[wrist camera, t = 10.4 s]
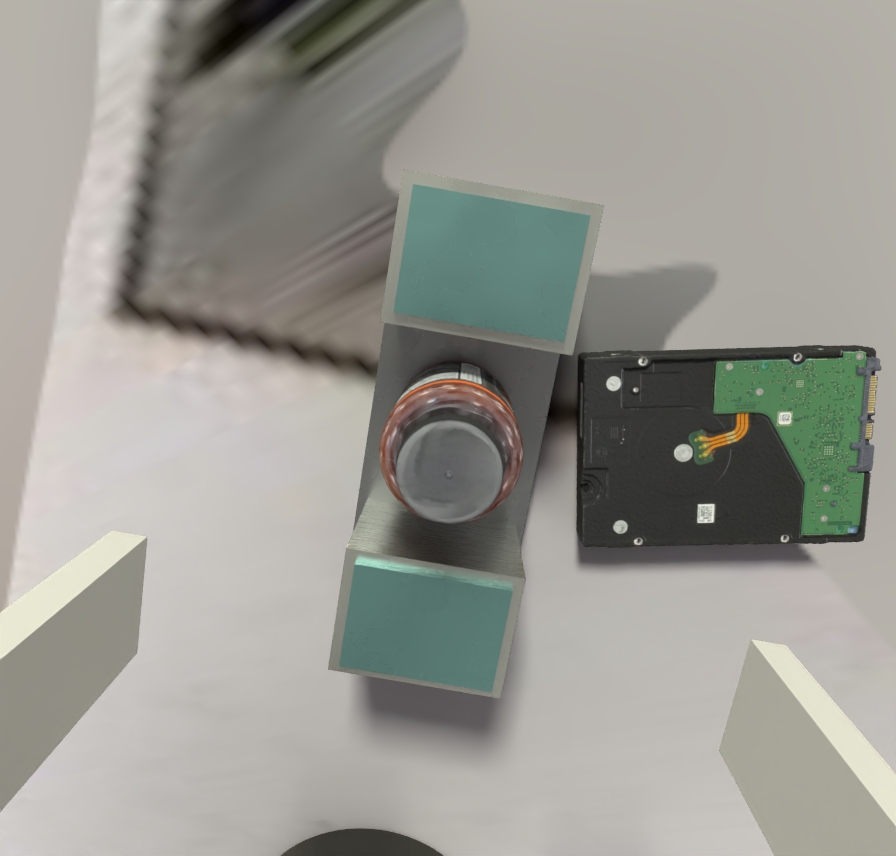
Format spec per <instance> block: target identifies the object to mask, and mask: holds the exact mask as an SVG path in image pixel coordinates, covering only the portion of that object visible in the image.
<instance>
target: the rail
mask: <svg viewBox="0 0 896 856" xmlns="http://www.w3.org/2000/svg"><path fill="white" fill-rule="evenodd" d="M603 208H604V205H600V204H594V203H588V202H583V201H577V200H571V199H566V198H560V197H554V196H549V195H543V194H538V193H532V192H526V191H521V190H515V189H509V188H504V187H498V186H493V185H487V184H481V183H476V182H470V181H464V180H458V179H453V178H448V177H442V176H436V175H430V174H425V173H420V172H414V171H408V170H403V175H402V181H401V188H400V194H399V201H398V208H397V214H396V221H395V228H394V234H393V241H392V248H391V254H390V261H389V268H388V274H387V281H386V288H385V294H384V301H383V308H382V314H381V321H380V322H384V323H385V325H384V332H383V339H382V345H381V352H380V358H379V365H378V371H377V378H376V385H375V391H374V398H373V404H372V411H371V418H370V424H369V431H368V437H367V444H366V450H365V457H364V464H363V470H362V477H361V483H360V490H359V497H358V503H357V510H356V516H355V523H354V530H353V534H352V536H351V538H350V541H349V543H348V545H347V548H346V554H345V560H344V567H343V573H342V580H341V587H340V593H339V600H338V607H337V613H336V620H335V627H334V633H333V640H332V647H331V653H330V660H329V667H328V670H334V671H340V672H346V673H352V674H358V675H364V676H370V677H375V678H381V679H387V680H393V681H399V682H405V683H411V684H417V685H423V686H429V687H434V688H440V689H446V690H452V691H458V692H464V693H470V694H476V695H482V696H487V697H493V698H499V699H500V698H501V693H502V688H503V684H504V679H505V674H506V669H507V665H508V660H509V655H510V650H511V646H512V641H513V636H514V631H515V627H516V622H517V617H518V612H519V608H520V603H521V598H522V593H523V589H524V584H525V579H526V578H525V573H524V568H523V562H522V557H521V552H520V545H521V540H522V535H523V531H524V526H525V521H526V516H527V511H528V506H529V502H530V497H531V492H532V487H533V482H534V477H535V472H536V468H537V463H538V458H539V453H540V448H541V443H542V439H543V434H544V429H545V424H546V419H547V414H548V410H549V405H550V400H551V395H552V390H553V385H554V380H555V376H556V371H557V366H558V361H559V356H560V353H561V354H567V355H572V356H573V351H574V346H575V341H576V337H577V332H578V327H579V322H580V318H581V313H582V308H583V303H584V299H585V294H586V289H587V284H588V280H589V275H590V270H591V265H592V260H593V256H594V251H595V246H596V242H597V237H598V232H599V227H600V223H601V218H602V213H603ZM445 361H462V362H468V363H471V364H474V365H476V366H479V367H481V368H483V369H485V370H486V371H488V372H489V373H490V374H492V375H493V376H494V377H495V378H496V379H497V380H498V381H499V383H500V384H501V385H502V387H503V388H504V390H505V392H506V393H507V395H508V397H509V399H510V402H511V405H512V408H513V412H514V414H515V417H516V420H517V423H518V426H519V429H520V432H521V436H522V440H523V450H524V456H523V464H522V468H521V473H520V476H519V479H518V481H517V483H516V485H515V487H514V488H513V490H512V491H511V493H510V495H509V496H508V497H507V499H506V500H505V501H504V502H503V503H502V504H501V505H500V506H498V507H497V508H496V509H495V510H493V511H492V512H490V513H488V514H487V515H485V516H483V517H480V518H478V519H475V520H473V521H469V522H463V523H454V524H446V523H438V522H434V521H431V520H427V519H425V518H423V517H420V516H418V515H416V514H414V513H412V512H411V511H410V510H408V509H407V508H406V507H404V506H403V505H402V504H401V503H400V502H399V501H398V500H397V499H396V497H395V496H394V495H393V494H392V492H391V491H390V489H389V488H388V486H387V484H386V482H385V479H384V477H383V474H382V470H381V466H380V459H379V445H380V438H381V434H382V431H383V428H384V425H385V423H386V421H387V419H388V417H389V414H390V413H391V411H392V409H393V408H394V406H395V404H396V402H397V400H398V399H399V397H400V395H401V393H402V392H403V390H404V388H405V387H406V385H407V384H408V383H409V382H410V380H412V379H413V378H414V377H415V376H416V375H417V374H418V373H420V372H421V371H422V370H424V369H426V368H427V367H429V366H431V365H434V364H437V363H441V362H445Z"/></svg>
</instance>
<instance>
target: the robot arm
mask: <svg viewBox="0 0 896 856" xmlns="http://www.w3.org/2000/svg"><path fill="white" fill-rule="evenodd" d="M146 547H147V537H146V536H140V535H134V534H129V533H123V532H117V531H111V532H109V533H108V534H106V535H105V536H104V537H102V538H101V539H100V540H98V541H97V542H96V543H94V544H93V545H91V546H90V547H89V548H87V549H86V550H85V551H83V552H82V553H81V554H79V555H78V556H77V557H75V558H74V559H72V560H71V561H70V562H68V563H67V564H66V565H64V566H63V567H62V568H60V569H59V570H57V571H56V572H55V573H53V574H52V575H51V576H49V577H48V578H47V579H45V580H44V581H42V582H41V583H40V584H38V585H37V586H36V587H34V588H33V589H32V590H30V591H29V592H28V593H26V594H25V595H23V596H22V597H21V598H19V599H18V600H17V601H15V602H14V603H13V604H11V605H10V606H8V607H7V608H6V609H4V610H3V611H2V612H0V812H1V811H2V809H3V808H4V807H5V806H6V805H7V804H8V802H9V801H10V800H11V799H12V798H13V797H14V795H15V794H16V793H17V792H18V791H19V790H20V789H21V787H22V786H23V785H24V784H25V783H26V782H27V780H28V779H29V778H30V777H31V776H32V775H33V773H34V772H35V771H36V770H37V769H38V768H39V766H40V765H41V764H42V763H43V762H44V761H45V759H46V758H47V757H48V756H49V755H50V754H51V752H52V751H53V750H54V749H55V748H56V747H57V745H58V744H59V743H60V742H61V741H62V740H63V738H64V737H65V736H66V735H67V734H68V733H69V731H70V730H71V729H72V728H73V727H74V726H75V725H76V723H77V722H78V721H79V720H80V719H81V718H82V716H83V715H84V714H85V713H86V712H87V711H88V709H89V708H90V707H91V706H92V705H93V704H94V702H95V701H96V700H97V699H98V698H99V697H100V695H101V694H102V693H103V692H104V691H105V690H106V688H107V687H108V686H109V685H110V684H111V683H112V681H113V680H114V679H115V678H116V677H117V676H118V674H119V673H120V672H121V671H122V670H123V669H124V667H125V666H126V665H127V664H128V663H129V662H130V661H131V659H132V658H133V657H134V656H135V655H136V654H137V649H138V638H139V626H140V615H141V603H142V592H143V581H144V569H145V558H146ZM719 751H720V753H721V755H722V757H723V759H724V761H725V763H726V765H727V767H728V768H729V770H730V772H731V774H732V776H733V778H734V780H735V782H736V784H737V785H738V787H739V789H740V791H741V793H742V795H743V797H744V799H745V801H746V802H747V804H748V806H749V808H750V810H751V812H752V814H753V816H754V818H755V819H756V821H757V823H758V825H759V827H760V829H761V831H762V833H763V835H764V836H765V838H766V840H767V842H768V844H769V846H770V848H771V850H772V852H773V853H774V855H775V856H896V774H895V773H894V771H893V770H892V769H891V768H890V767H889V766H888V764H887V763H886V762H885V761H884V760H883V759H882V757H881V756H880V755H879V754H878V753H877V752H876V750H875V749H874V748H873V747H872V746H871V745H870V743H869V742H868V741H867V740H866V739H865V738H864V736H863V735H862V734H861V733H860V732H859V731H858V729H857V728H856V727H855V726H854V725H853V723H852V722H851V721H850V720H849V719H848V718H847V716H846V715H845V714H844V713H843V712H842V711H841V709H840V708H839V707H838V706H837V705H836V704H835V702H834V701H833V700H832V699H831V698H830V697H829V695H828V694H827V693H826V692H825V691H824V690H823V688H822V687H821V686H820V685H819V684H818V683H817V681H816V680H815V679H814V678H813V677H812V676H811V674H810V673H809V672H808V671H807V670H806V669H805V667H804V666H803V665H802V664H801V663H800V662H799V660H798V659H797V658H796V657H795V656H794V655H793V653H792V652H791V651H790V650H789V649H788V648H787V646H786V645H780V644H775V643H769V642H763V641H757V640H751V641H750V644H749V648H748V651H747V655H746V658H745V662H744V665H743V669H742V672H741V676H740V679H739V682H738V686H737V689H736V693H735V696H734V700H733V703H732V707H731V710H730V714H729V717H728V721H727V724H726V728H725V731H724V735H723V738H722V742H721V745H720V749H719ZM281 856H443V855H442V854H440V853H439V852H437V851H436V850H434V849H433V848H431V847H429V846H427V845H425V844H423V843H421V842H419V841H417V840H415V839H412V838H410V837H407V836H404V835H401V834H397V833H393V832H388V831H383V830H375V829H346V830H338V831H333V832H328V833H324V834H321V835H318V836H315V837H312V838H310V839H307V840H305V841H303V842H301V843H299V844H297V845H295V846H294V847H292V848H290V849H289V850H288V851H286V852H285V853H283V854H282V855H281Z"/></svg>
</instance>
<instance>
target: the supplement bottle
mask: <svg viewBox="0 0 896 856" xmlns="http://www.w3.org/2000/svg"><path fill="white" fill-rule="evenodd" d="M523 456H524V450H523V440H522V436H521V432H520V429H519V426H518V423H517V420H516V417H515V414H514V412H513V408H512V405H511V402H510V399H509V397H508V395H507V393H506V392H505V390H504V388H503V387H502V385H501V384H500V383H499V381H498V380H497V379H496V378H495V377H494V376H493V375H492V374H490V373H489V372H488V371H486V370H485V369H483V368H481V367H479V366H476V365H474V364H471V363H468V362H462V361H445V362H441V363H437V364H434V365H431V366H429V367H427V368H426V369H424V370H422V371H421V372H420V373H418V374H417V375H416V376H415V377H414V378H413V379H412V380H410V382H409V383H408V384H407V385H406V387H405V388H404V390H403V392H402V393H401V395H400V397H399V399H398V400H397V402H396V404H395V406H394V408H393V409H392V411H391V413H390V414H389V417H388V419H387V421H386V423H385V425H384V428H383V431H382V434H381V438H380V445H379V459H380V466H381V470H382V474H383V477H384V479H385V482H386V484H387V486H388V488H389V489H390V491H391V492H392V494H393V495H394V496H395V497H396V499H397V500H398V501H399V502H400V503H401V504H402V505H403V506H404V507H406V508H407V509H408V510H410V511H411V512H412V513H414V514H416V515H418V516H420V517H423V518H425V519H427V520H431V521H434V522H438V523H446V524H454V523H463V522H469V521H473V520H475V519H478V518H480V517H483V516H485V515H487V514H488V513H490V512H492V511H493V510H495V509H496V508H497V507H498V506H500V505H501V504H502V503H503V502H504V501H505V500H506V499H507V497H508V496H509V495H510V493H511V491H512V490H513V488H514V487H515V485H516V483H517V481H518V479H519V476H520V473H521V468H522V464H523Z"/></svg>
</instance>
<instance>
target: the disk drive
mask: <svg viewBox="0 0 896 856" xmlns="http://www.w3.org/2000/svg"><path fill="white" fill-rule="evenodd" d="M880 370H881V366H880V359H878V358H876V351H875V349H874V348H869V347H863V346H856V345H852V346H842V345H841V346H821V345H813V346H798V347H767V348H766V347H762V348H735V349H734V348H733V349H729V348H728V349H698V350H666V351H630V350H629V351H605V352H591V353H587V352H584V353H580V354H579V356H578V373H579V375H578V424H577V425H578V429H577V432H578V433H577V436H578V437H577V441H578V443H577V532H578V535H579V537H580V539H581V541H582V544H583V545H584V546H585V547H593V546H595V547H609V548H612V547H634V546H636V545H637V546H666V545H667V546H670V545H674V546H675V545H713V544H728V545H734V544H747V543H748V544H766V543H768V544H779V543H804V544H808V543H813V544H817V543H819V544H823V543H828V542H859V541H863V540H864V537H865V526H866V516H867V506H868V497H869V485H870V477H871V475H870V473H869V471H871V470H872V466H873V455H874V446H873V445H870V443H869V439H872V435H873V424H874V420H872V419H871V416H872V415H875V401H876V389H877V379H878V377H877V375H875V371H880Z"/></svg>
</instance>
